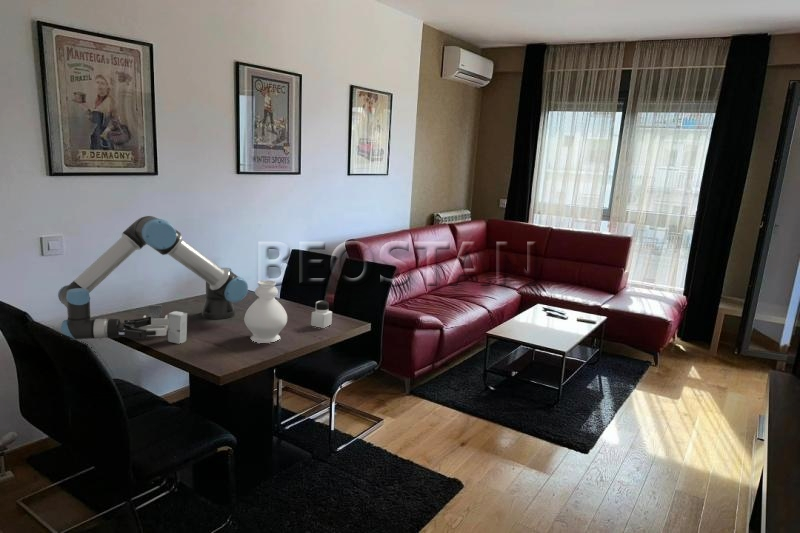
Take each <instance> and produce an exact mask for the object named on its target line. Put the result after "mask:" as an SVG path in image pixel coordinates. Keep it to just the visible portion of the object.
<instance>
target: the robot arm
mask: <svg viewBox="0 0 800 533" xmlns="http://www.w3.org/2000/svg"><path fill="white" fill-rule="evenodd" d="M146 245H147V246H149V247H150V248H152V249H153V250H154V251H156V252H158V253H159V254H161V255H162V256H169V257H171V258H172V259H173V260H175V261H176V262H178V263H179V264H181V265H182V266H184V267H185V268H186V269H188V270H189V271H191V272H192V273H193V274H195V275H197V276H198V277H199V278H201V279H202V280H204V282H205V301H204V304H203V306H202V308H201V316H202V317H203V318H206V319H213V320H221V319H230V318H232V317H234V316H235V314H236V309H235V306H234V304H233V303H239V302H241V301H242V300H244V298H246V296H247V294H248V292H249V285H248V283H247V281H246V280H245V279H244V278H243V277H240V276H238V275H237V274H235V273H234V272H233V271H232V268H231V267H220V266H219V265H217V264H216V263H215V262H214V261H213V260H211V259H210V258H209V257H207V256H205V255H204V254H203V252H200V251H199V250H198V249H196V248H195V247H193V246H192V245H191V244H189V242H187V241H186V240H185V239H183V238H182V233H181V232H180V231H178V230H177V229H176V228H175V226H173V224H172V223H171V222H169V221H167V220H165V219H162V218H158V217H155V216H152V215H145V216H143V217H140V218H138V219H136V220H135V221H134V222H133V223H132V224H130V225H129V226H128V227H127V228H126V229H125V230H124V231H123V232H122V233H121V237H120V238H119V239H117V241H115V243H114V244H112V246H110V247H109V248H108V249H107V250H106V251H105V252H104V253H103V254H102V255H100V256H99V257H98V258H97V259H96V260H95V261H94V262H93V263H92V264H91V265H90V266H88V267H87V268H86V269H85V270H84V271H82V273H81V274H79V275H78V276H77V277H76V278H75V279H74V280H72V282H70V283H69V284H68V285H64V286H62V287H61V288H60V289H59V290H58V293H57V297H58V299H59V301H60V303H61V304H62V305H64V307H65V308H66V310H67V311H66V312H67V319H64V320H62V322H61V324H60V325H61V326H60V334H61V333H63V334H65V335H67V336H70V337H72V338H74V339H73V340H75V339H77V340H90V339H98V340H102V339H107V338H108V339H116V338H117V339H118V338H120V337H121V338H122V337H126V338H137V339H144V340H145V339H147V338H148V337H159V336H160V337H164V336H165V337H166V335H165V328H164V329H147V330H144V329H139V327H143V326H147V325H151V326H154V325H168V321H169V317H168V318H165V317H164V318H163V317H162V319H151V317H149V316H146V318H143V317H142V318H140V317H139V318H133V319H125V320H124V321H123V322H121V320H120V319H119V318H109V319H108V318H96V319H95V318H94V319H93V318H91V297H90V293H92V291H93V290H94V289H95V288H97V287H98V286H99V285H100V284H101V283H102V282H103V281H104V280H105V279H106V278H107V277H109V276H110V275H111V274H112V273H113V272H114V271H115V270H116V269H117V268H118V267H119V266H120V265H122V263H124V262H125V261H126V260H127V259H128V258H129V257H130V256H131V255H132V254H134V252H135V251H136V250H137V251H138V250H141V249H143V247H145V246H146Z"/></svg>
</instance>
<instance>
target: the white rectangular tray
mask: <svg viewBox="0 0 800 533" xmlns="http://www.w3.org/2000/svg"><path fill="white" fill-rule="evenodd" d="M146 317H147V315H143V317H142V318H146ZM164 318H168V319H169V314H165V316H164ZM168 322H169V320H168ZM164 328H165V336H168V325H154V326H151V325H147V326H143V327H139V329H144V330H147V329H164Z"/></svg>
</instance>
